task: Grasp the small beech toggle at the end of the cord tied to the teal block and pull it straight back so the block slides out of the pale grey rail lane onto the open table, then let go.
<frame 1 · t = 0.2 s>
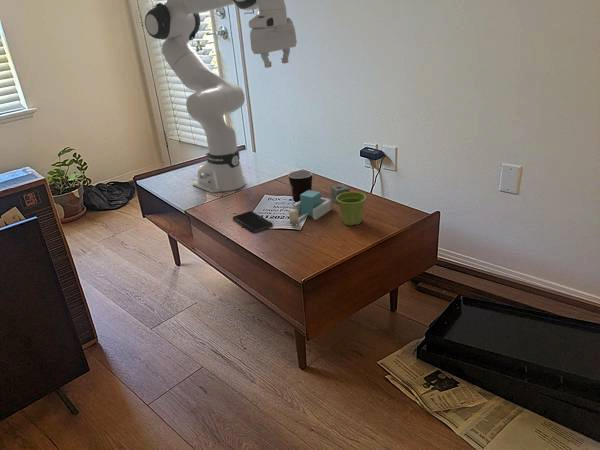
hand: (276, 65, 160), 47 cm above the table, fingers open, 8 cm apart
phone: (252, 224, 163), on the table
plant pot: (351, 222, 158), on the table
coffee mug: (303, 199, 179), on the table
rail lane: (313, 211, 167), on the table
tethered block: (311, 212, 167), on the table
grey cube with symbols: (340, 200, 175), on the table
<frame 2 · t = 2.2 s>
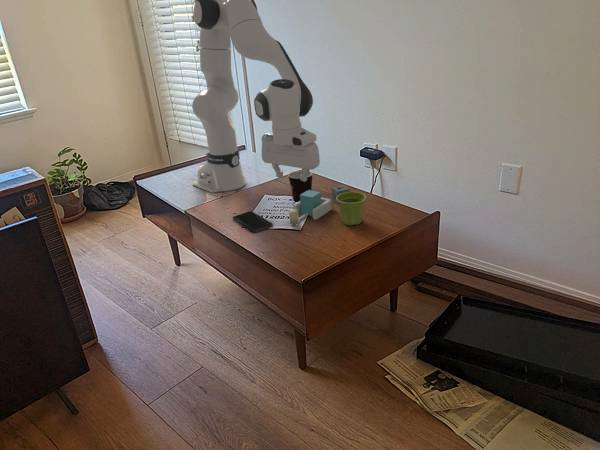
hand: (291, 178, 153), 16 cm above the table, fingers open, 8 cm apart
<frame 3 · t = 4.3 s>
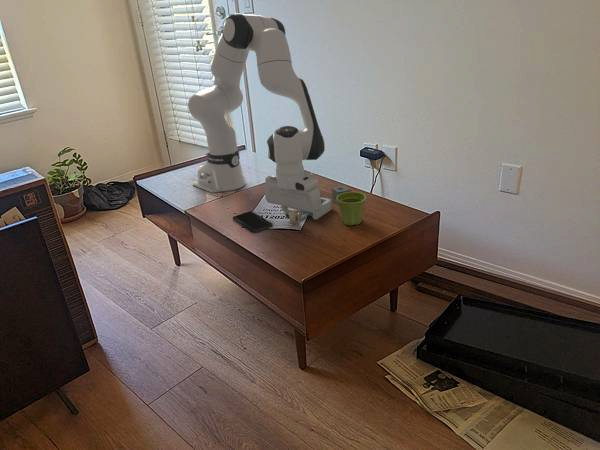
hand: (293, 219, 159), 2 cm above the table, fingers closed on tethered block, 3 cm apart
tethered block: (311, 212, 167), on the table, touching gripper
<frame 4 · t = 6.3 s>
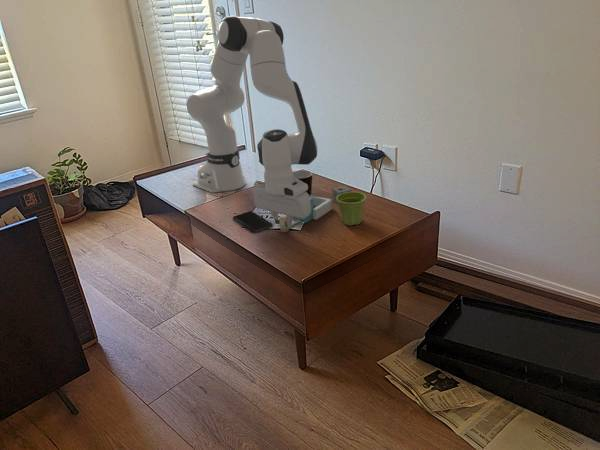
hand: (283, 224, 155), 2 cm above the table, fingers closed on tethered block, 3 cm apart
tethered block: (303, 218, 163), on the table, touching gripper
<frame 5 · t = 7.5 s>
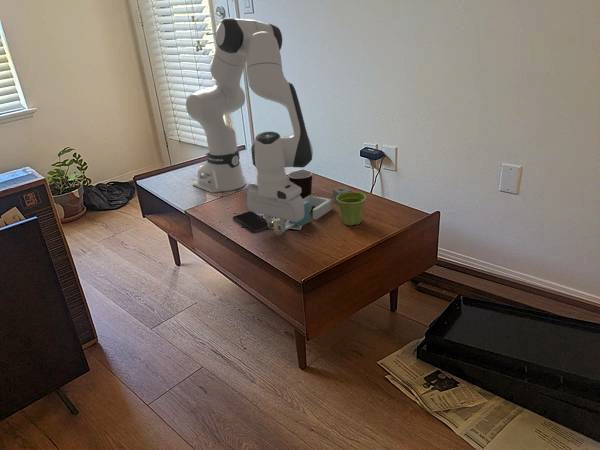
hand: (276, 228, 152), 2 cm above the table, fingers closed on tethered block, 3 cm apart
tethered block: (299, 222, 160), on the table, touching gripper
when the fingers open (2 cm above the table, at t = 8.1 s): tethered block stays where it is, on the table.
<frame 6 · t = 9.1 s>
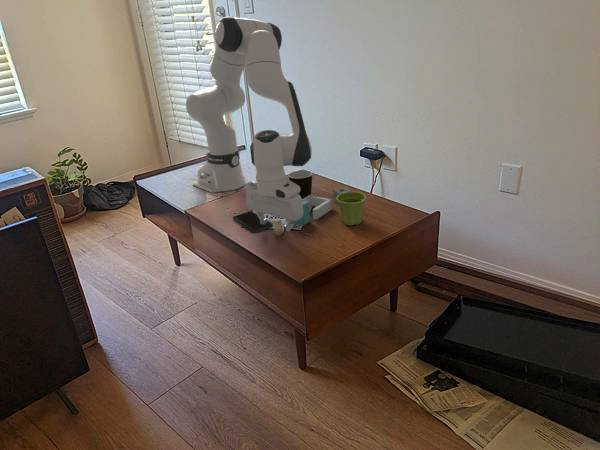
hand: (275, 227, 152), 3 cm above the table, fingers open, 8 cm apart
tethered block: (299, 222, 160), on the table
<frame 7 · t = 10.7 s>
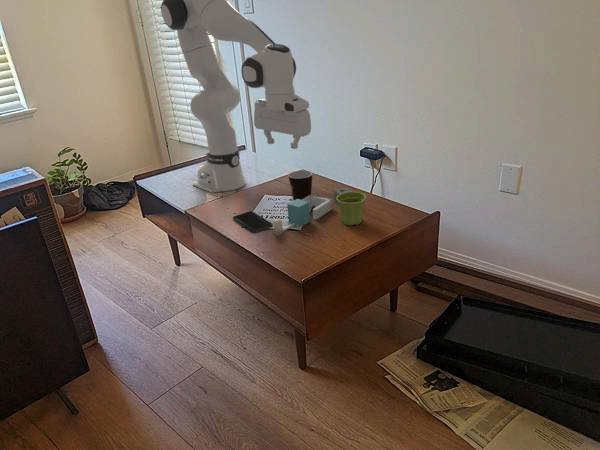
hand: (282, 145, 153), 25 cm above the table, fingers open, 8 cm apart
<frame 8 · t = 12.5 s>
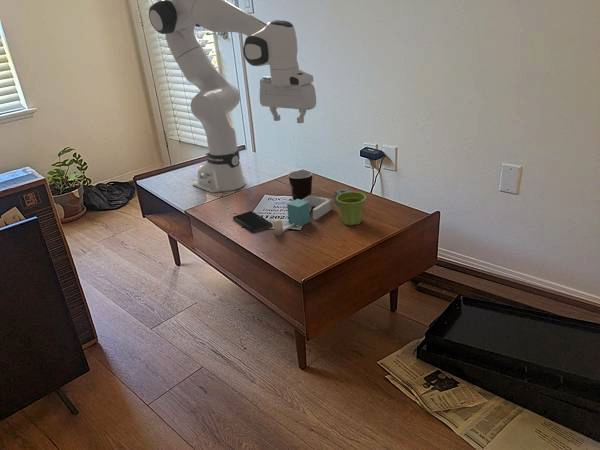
hand: (288, 121, 156), 31 cm above the table, fingers open, 8 cm apart
at the end: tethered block inside the target area (4.7 cm from its centre), on the table; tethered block tilted 0°; the gripper is holding nothing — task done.
